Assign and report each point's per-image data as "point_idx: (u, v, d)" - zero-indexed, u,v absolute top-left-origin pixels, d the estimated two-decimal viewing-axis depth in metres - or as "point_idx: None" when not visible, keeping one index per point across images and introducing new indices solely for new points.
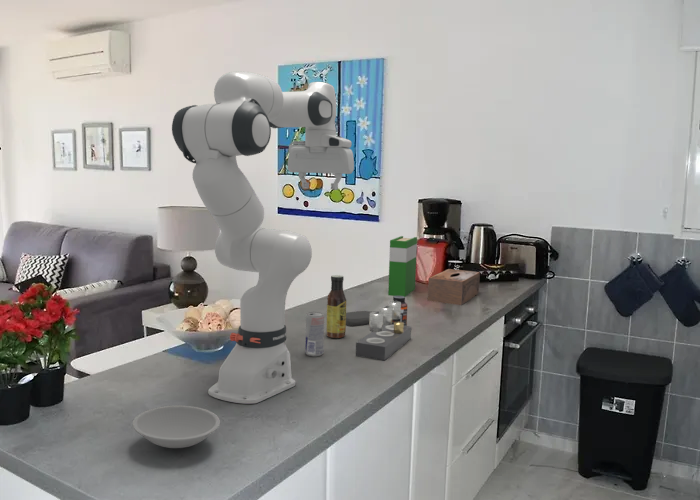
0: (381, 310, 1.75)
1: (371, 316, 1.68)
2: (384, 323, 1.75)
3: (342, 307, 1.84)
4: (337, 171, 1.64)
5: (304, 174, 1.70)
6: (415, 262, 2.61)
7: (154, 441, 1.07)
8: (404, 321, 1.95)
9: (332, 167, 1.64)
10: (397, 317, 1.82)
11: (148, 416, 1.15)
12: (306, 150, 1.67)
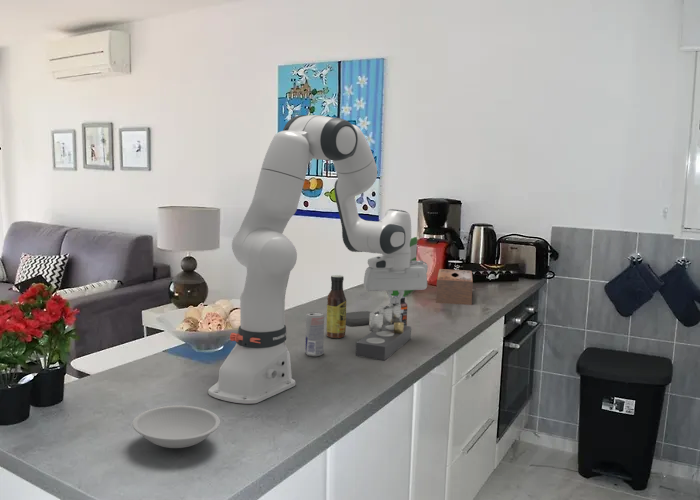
0: (381, 310, 1.75)
1: (371, 316, 1.68)
2: (384, 323, 1.75)
3: (342, 307, 1.84)
4: None
5: (399, 291, 1.83)
6: None
7: (154, 441, 1.07)
8: (404, 321, 1.95)
9: None
10: (397, 319, 1.82)
11: (148, 416, 1.15)
12: None
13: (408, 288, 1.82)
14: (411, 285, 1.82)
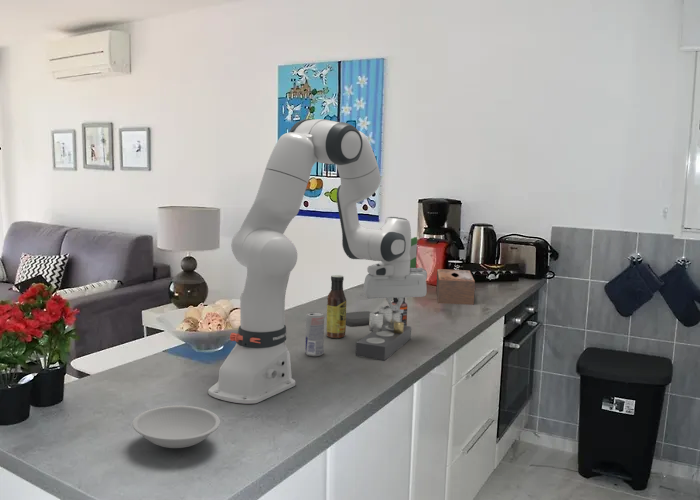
0: (381, 310, 1.75)
1: (371, 316, 1.68)
2: (384, 323, 1.75)
3: (342, 307, 1.84)
4: None
5: (398, 298, 1.83)
6: (415, 262, 2.61)
7: (154, 441, 1.07)
8: (404, 321, 1.95)
9: None
10: None
11: (148, 416, 1.15)
12: None
13: (408, 295, 1.82)
14: (411, 292, 1.82)
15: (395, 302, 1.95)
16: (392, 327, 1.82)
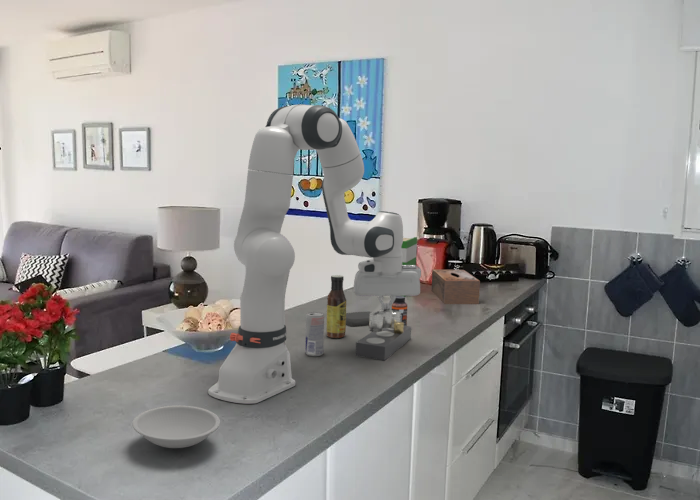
0: None
1: (371, 316, 1.68)
2: (384, 326, 1.75)
3: (342, 307, 1.84)
4: None
5: (390, 296, 1.76)
6: (415, 262, 2.61)
7: (154, 441, 1.07)
8: (404, 321, 1.95)
9: None
10: None
11: (148, 416, 1.15)
12: None
13: (399, 293, 1.74)
14: (403, 291, 1.74)
15: (395, 302, 1.95)
16: (392, 327, 1.82)
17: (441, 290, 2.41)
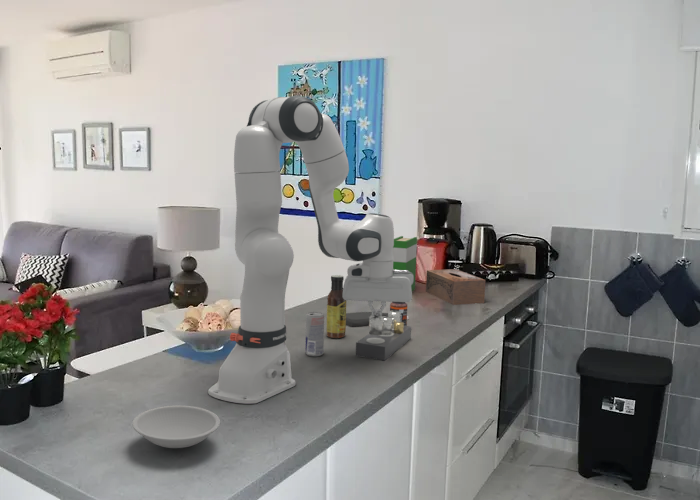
0: None
1: (371, 319, 1.68)
2: (384, 333, 1.75)
3: (342, 307, 1.84)
4: None
5: (381, 302, 1.68)
6: (415, 262, 2.61)
7: (154, 441, 1.07)
8: (404, 321, 1.95)
9: None
10: None
11: (148, 416, 1.15)
12: None
13: (389, 299, 1.66)
14: (393, 297, 1.66)
15: (395, 302, 1.95)
16: (392, 327, 1.82)
17: (446, 291, 2.40)
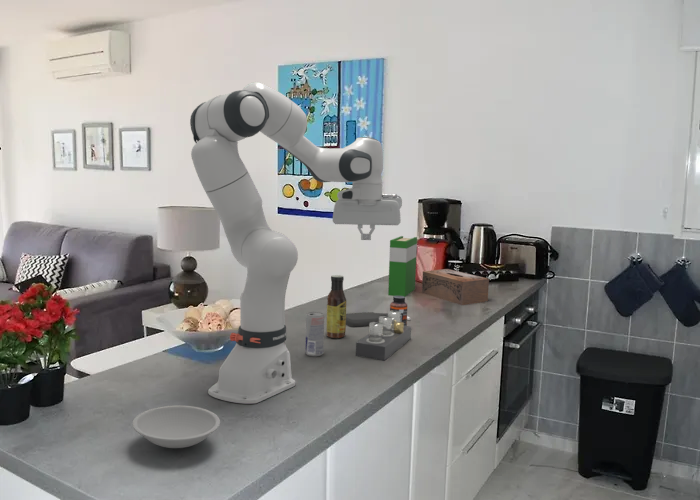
0: (381, 320, 1.75)
1: (371, 326, 1.68)
2: (384, 333, 1.75)
3: (342, 307, 1.84)
4: None
5: (370, 226, 1.72)
6: (415, 262, 2.61)
7: (154, 441, 1.07)
8: (404, 321, 1.95)
9: None
10: None
11: (148, 416, 1.15)
12: None
13: (379, 223, 1.70)
14: (382, 220, 1.70)
15: (395, 302, 1.95)
16: (392, 327, 1.82)
17: (453, 291, 2.39)
